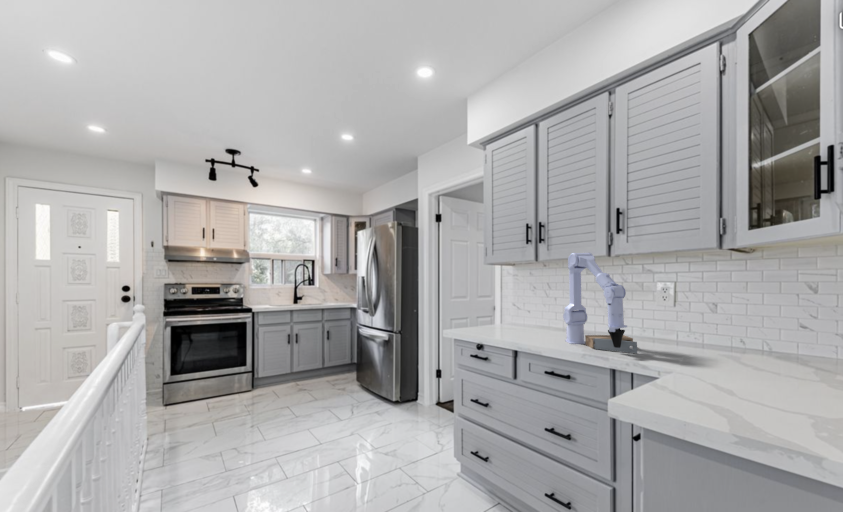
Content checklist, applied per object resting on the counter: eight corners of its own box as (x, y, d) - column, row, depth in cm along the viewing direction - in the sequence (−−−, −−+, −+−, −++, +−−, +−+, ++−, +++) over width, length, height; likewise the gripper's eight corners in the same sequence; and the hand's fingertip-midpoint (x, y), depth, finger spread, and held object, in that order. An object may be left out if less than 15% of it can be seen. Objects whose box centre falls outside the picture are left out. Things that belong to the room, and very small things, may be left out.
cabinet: (585, 345, 170) (585, 335, 170) (623, 344, 168) (623, 335, 168) (592, 348, 161) (592, 338, 161) (633, 348, 159) (632, 338, 160)
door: (594, 348, 161) (593, 338, 161) (637, 352, 150) (636, 341, 150) (592, 349, 159) (592, 338, 159) (636, 353, 148) (635, 342, 149)
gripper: (622, 316, 144) (624, 351, 143) (630, 313, 155) (631, 345, 154) (602, 315, 148) (604, 349, 147) (611, 312, 159) (613, 343, 158)
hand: (617, 347), depth 151 cm, fingers closed
